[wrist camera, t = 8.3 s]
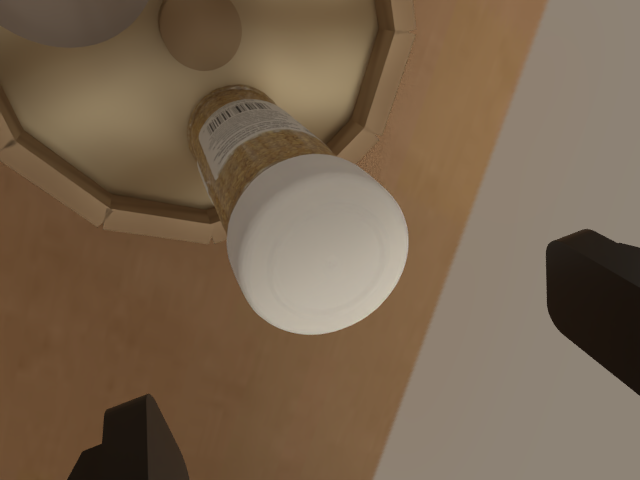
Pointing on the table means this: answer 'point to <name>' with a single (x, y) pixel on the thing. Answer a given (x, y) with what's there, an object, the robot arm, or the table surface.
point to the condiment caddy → (191, 99)
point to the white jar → (69, 20)
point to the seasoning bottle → (295, 215)
